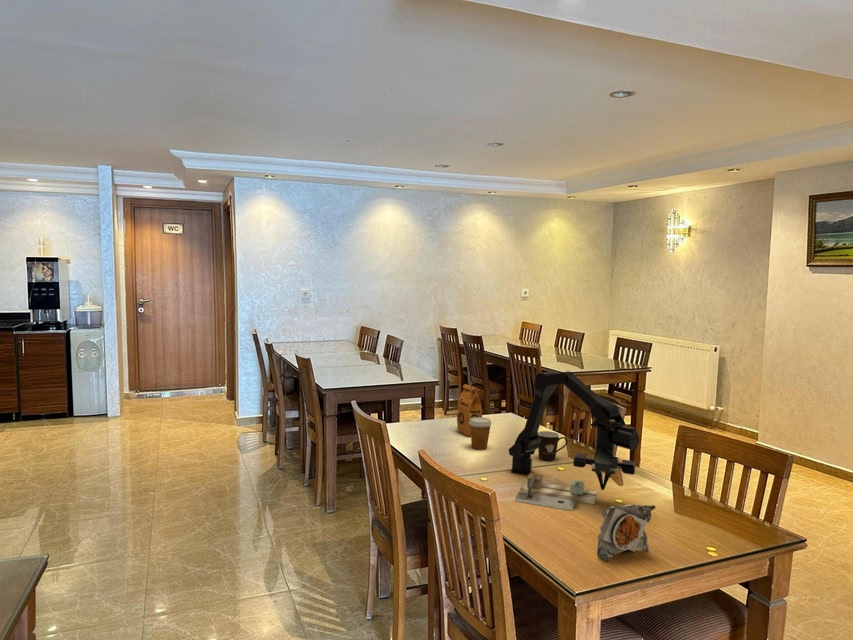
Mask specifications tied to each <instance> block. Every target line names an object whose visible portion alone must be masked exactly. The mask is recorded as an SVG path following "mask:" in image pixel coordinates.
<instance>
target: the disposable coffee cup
mask: <svg viewBox="0 0 853 640" xmlns="http://www.w3.org/2000/svg"><path fill="white" fill-rule="evenodd" d="M469 424H470V432H471V437H470V439H471V441H470V442H471V448H472V449H473V450H476V451H477V450H478V451H483V450H486V449H487V448H488V444H489V437H490V431H491V426H492V421H491V419H490V418H487V417H483V416H482V417H474V418H471V419H470V421H469Z"/></svg>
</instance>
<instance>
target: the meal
mask: <svg viewBox="0 0 853 640" xmlns="http://www.w3.org/2000/svg"><path fill="white" fill-rule="evenodd" d="M653 510H656V505H655V504H653V505H642V504H638V505H637V504H636V505H635V504H633V503H631V504H630V503H629V504H628V503H627V504H623V505H616V504H615V505H611V506H610V507H609V508H607V509H604V510H603V511H602V512H601V514H602V518H603V519H602V520H603V521H602V524H600V526H599V527H598V528H599V530H600V533H599V534H598V537H597V541H598V542H597V550H596V552H597V553H596V556H597V557H598V558H599V560H601V561H602V562H605V563H606V564H608V561H609V558H614V557H615V556H616V555H617V554H619V553H620V554H621V553H623V552H626V551H631V552H636V551H637V549H638V550H640V551H646V552H650V548H649V545H648V534H647V532H646V530H645V529H646V526H647V523H649V522H650V521H651V519H652V511H653Z"/></svg>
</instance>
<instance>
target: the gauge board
mask: <svg viewBox="0 0 853 640" xmlns="http://www.w3.org/2000/svg"><path fill="white" fill-rule="evenodd" d="M519 489H520V490H519V492H525V493H528V495H529V496H531V494H537V495H543V496H549V497H555V498H562V499H568V500H572V498H573V495H572V493H570V486H564V485H559V484H552V483H545V482H543V474H538V473H533V472H529V474H528V476H527V480H526V479H525V480H524V481H523V483H522V485H521V486H520V487H519ZM597 495H598V490H589V489H585V488H584V492H583V495H581V494H576V502H577V503H583V504H588V505H596V501H597V497H598V496H597Z"/></svg>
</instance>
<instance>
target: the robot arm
mask: <svg viewBox="0 0 853 640" xmlns="http://www.w3.org/2000/svg"><path fill="white" fill-rule="evenodd" d="M560 384H562V385H564V386H565V387H566V388H567V389H568V390H569V391H571V393H573V394H574V395H575V396H576V397H577V398H578V399H579V400H581V402H582V403H584V404H585V405H586V406H587V408H588V409H589V412H590V414H591V415H592V417H593V418H594V421H593V422H592V423H590V426H591V427H593V428H596V429H595V430H596V432H595V435H596V437H595V453H594V455H593V456H594V458H589V457H588V454H583V453H576V454H574V457H573V463H572V464H573V465H572V466H573V467H575V468H584V467H585V466H586V465H590V466H591V471H592V472H594V473H595V475H596V476H597V479H598V483H599V486H600V489H601V491H605V488H606V486H607V484H608V481H609V480H610V477H611V476H612V475H615V474H616V471H617V469H618V470H621V472H622V473H623V474H626V475H635V473H636V470H635V469H636V462H635V461H634V460H627V459H622V461H621V462H619V457H618V456H615V447H619V448H623V449H626V450H630V451H635V450H637V448H638V446H639V444H640V441H641V439H640V435H639V433H638V432H637V428H636V427H632V426H630V427H629V426H626V422H625V421H624V419H623V416H622V415H621V413H620V410H619V407H618V405H617V404H615V402H612V401H611V400H608V399H607V398H604V397H601V396H600V395H598V394H597V393H595V392H594V391H593V390H592V389H591V388H590V387H588V385H586V384H585V383H584V382H583V381H582V380H581V379H580V378H578V377H577V376H576V375H575V373H573V372H572V371H567V370H566V371H561V372H559V373H558V372H557V373H556V372H554V371H546V372H540V373H539V372H538V373H537V374H536V375H535V377H534V381H533V389H534V397H533V399H532V404H531V406H530V409H529V412H528V416H527V419H526V421H525V422H526V423H525V425H524V428H523V429H522V431H520V433H519V434H517V436H516V439H515V440H514V444H513V445H511V447H510V448H509V449H508V453H509V456H512V458H511V459H512V462H511V469H510V473H515V474H521V475H530V473H531V472H532V470H533V459H532V458H531V457H532V455H534V454H535V452H536V450H538V448H539V445H540V442H541V439H542V438H540V437H539V436H538V432H539V430H540V429H539V428H540V426H541V422H542V419H543V416H544V413H545V410H546V407H547V406H548V405H547V404H548V401H549V399H550V397H551V396H552V395H553V393H555V391H556V389H557V388H558V386H559V385H560ZM603 472H605V473H604V476H603Z"/></svg>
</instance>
